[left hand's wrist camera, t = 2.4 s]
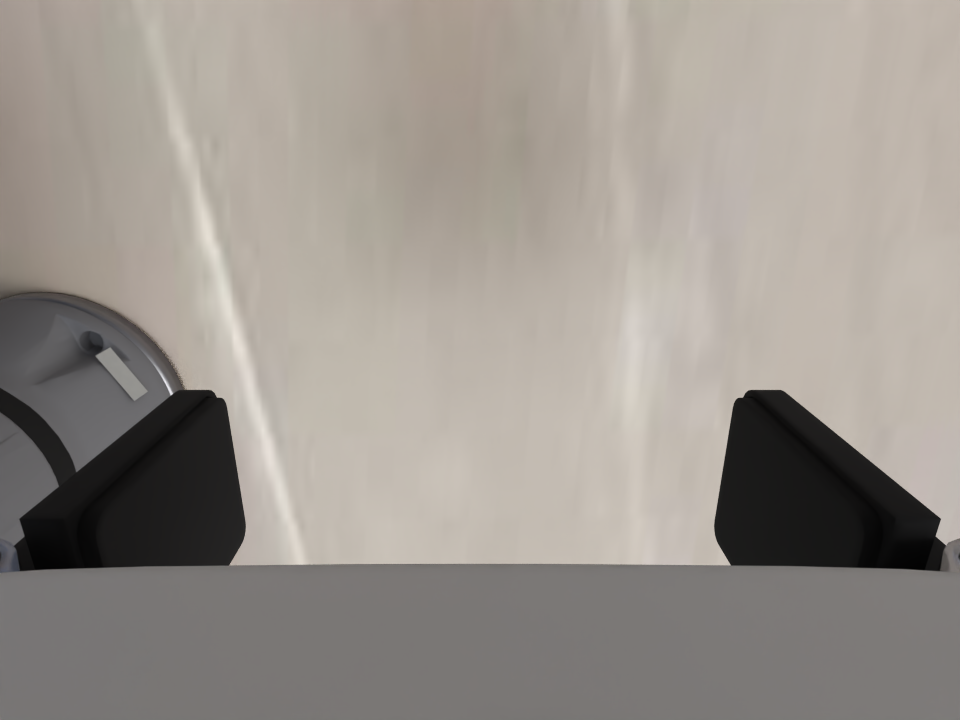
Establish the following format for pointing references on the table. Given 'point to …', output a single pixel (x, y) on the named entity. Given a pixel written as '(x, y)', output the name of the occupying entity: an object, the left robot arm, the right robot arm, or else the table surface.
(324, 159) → the table surface
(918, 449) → the table surface
